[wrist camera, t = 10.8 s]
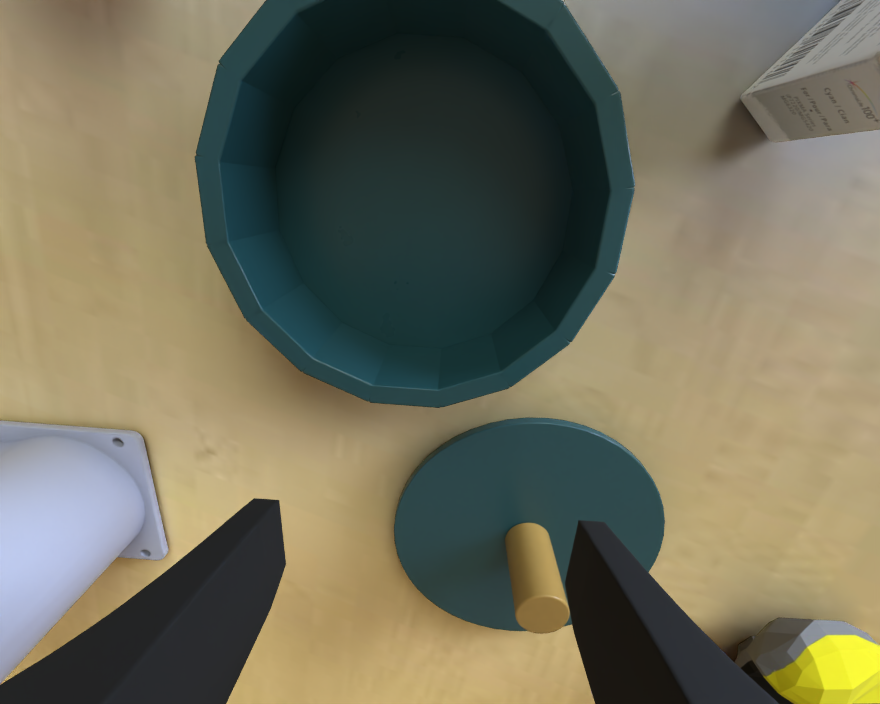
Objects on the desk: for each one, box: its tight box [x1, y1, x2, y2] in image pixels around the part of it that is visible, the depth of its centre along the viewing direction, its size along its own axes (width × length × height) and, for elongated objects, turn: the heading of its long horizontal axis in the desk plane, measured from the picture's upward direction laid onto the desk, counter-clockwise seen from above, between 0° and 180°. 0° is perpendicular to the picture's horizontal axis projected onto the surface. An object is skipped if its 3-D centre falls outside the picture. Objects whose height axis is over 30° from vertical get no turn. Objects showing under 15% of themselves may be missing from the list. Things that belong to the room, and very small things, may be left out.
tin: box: [195, 0, 635, 408], centre depth 14 cm, size 12×12×4 cm
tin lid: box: [394, 418, 665, 633], centre depth 19 cm, size 13×13×5 cm
